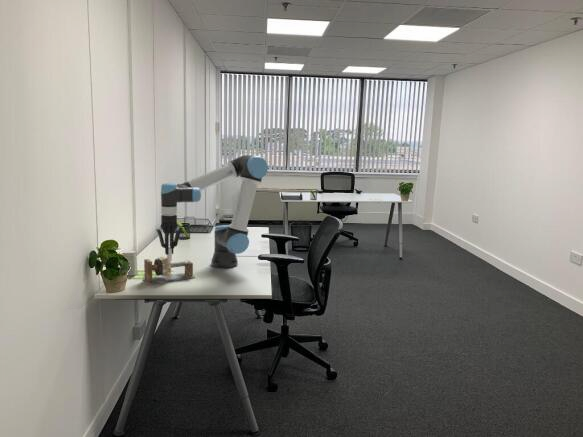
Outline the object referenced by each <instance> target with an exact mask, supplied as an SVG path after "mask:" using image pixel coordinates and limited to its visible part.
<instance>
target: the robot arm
mask: <svg viewBox="0 0 583 437" xmlns="http://www.w3.org/2000/svg"><path fill="white" fill-rule="evenodd" d="M268 171H269V165H268V163H267V160H266V159H265V158H264V157H263V156H260V155H255V154H254V155H252V154H250V155H249V154H244V155H241V156H239V157H236V158H234V159H232V160H230V161H228V162H226V165H225V164H224V165H223V166H220V167H219V168H216V169H213V170H211V171H209V172H207V173H203V174H202V175H199V176H197V177H194V178H192V179H190V180H188V181H185V182H183V183H178V184H177V183H171V182H170V183H168V182H167V183H162V184H161V186H160V188H161V189H160V200H161V202H160V203H161V204H160V205H161V206H160V207H161V208H160V209H161V210H160V214H161V215H160V217H161V218H160V220H161V224H160V227H158V228H156V229H155V231H156V233H157V234H158V237H159V242H160V247H162V248H163V249H164V253H165V255H166V257H167V258H168V259H170V260H171V262H172V260H173V257H172V255H174V248H175V247H177V246H178V244H179V239H180V234H181V231H183V228H182V227H181V226H180V225H179V226H178V215H177V214H178V206H177V205H178V203H198V202H200V200H201V198H202V191H204V190H206V189H209V188H211V187H213V186H216V185H218V184H220V183H222V182H224V181H227V180H229V179H231V178H233V179H236V178H240V179H241V183H240V184H241V185H240V188H239V193H238V196H237V200H236V204H235V208H234V211H233V215H232V220H231V223H230V224H223V225H216V226H215V227H214V251H213V255H212V257H211V260H210V262H211V263H210V264H211V265H210V266H212V267H214V268H220V269H229V268H234V267H237V266H238V262H239V261H238V257H237V255H239V254H242V253H244V252H246V250H247V249H248V247H249V245H250V239H249V237H248V236H249V229H248V223H249V220H250V215H251V212H252V208H253V204H254V200H255V196H256V192H257V188H258V185H260V184H261V183H262V180H263V178H264V177H265V176H267V173H268ZM175 231H176V232H175ZM162 232H163V233H164V234H163V233H162ZM163 235H164V237H163ZM236 254H237V255H236Z"/></svg>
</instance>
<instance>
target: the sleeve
mask: <svg viewBox="0 0 583 437" xmlns="http://www.w3.org/2000/svg"><path fill="white" fill-rule="evenodd" d="M156 259H161V261H162V264H163V265H162V266H163V271H162V272H163V273H162V275H161V276H170V275H172V268H171V263H172V261H171V260H170V259H168V258H167V256H158V257H157V258H156Z"/></svg>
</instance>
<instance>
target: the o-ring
mask: <svg viewBox="0 0 583 437" xmlns="http://www.w3.org/2000/svg"><path fill="white" fill-rule="evenodd" d="M155 264H157V265H158V270H156V271H154V273H155V275H156V277H159V276H162V273H163V272H162V271H163V266H162V265H163V264H162V261H161V259H157V258H155V259H154V261H153V265H155Z"/></svg>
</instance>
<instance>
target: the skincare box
mask: <svg viewBox="0 0 583 437" xmlns="http://www.w3.org/2000/svg"><path fill="white" fill-rule="evenodd" d="M122 255H123V256H125V257H126V258H127V260H128V261H129V264H130V267H131V269H130V271H129V272H128V275H127V276H136V275H137V274H138V258H137V250H124V251H123V252H122V253H121V256H122Z"/></svg>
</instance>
